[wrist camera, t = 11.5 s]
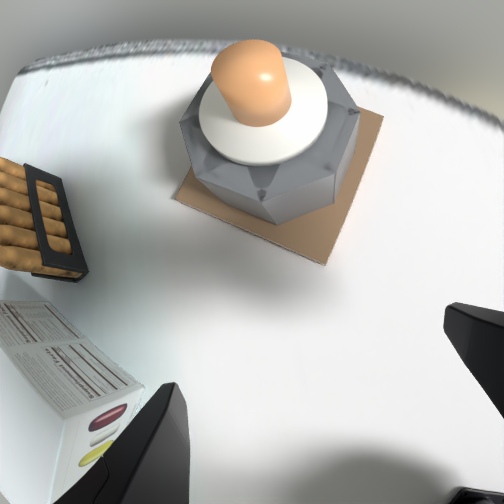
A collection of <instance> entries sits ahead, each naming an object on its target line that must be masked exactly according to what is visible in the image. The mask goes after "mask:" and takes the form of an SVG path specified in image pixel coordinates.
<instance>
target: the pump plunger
mask: <svg viewBox="0 0 504 504" xmlns="http://www.w3.org/2000/svg"><path fill="white" fill-rule="evenodd" d="M211 76H212V78H213V82H212V83H211V84H210V85H209V87H208V88H207V90H206V91H205V93H204V95H203V98H202V100H201V104H200V108H199V122H200V126H201V129H202V131H203V133H204V135H205V137H206V138H207V140H208V141H209V142H210V143H211V145H212V146H213V147H214V148H215V149H216V150H217V152H219V153H220V154H221V155H222V156H224V157H225V158H227V159H229V160H231V161H233V162H236V163H239V164H243V165H248V166H271V165H276V164H280V163H283V162H286V161H289V160H291V159H293V158H295V157H297V156H299V155H300V154H302V153H303V152H305V151H306V150H307V149H309V148H310V147H311V146H312V145H313V144H314V143H315V142H316V140H317V139H318V138H319V136H320V135H321V133H322V131H323V129H324V127H325V124H326V121H327V115H328V104H327V94H326V90H325V87H324V85H323V83H322V81H321V80H320V78H319V77H318V76H317V74H316V73H315V72H314V71H312V70H311V69H310V68H309V67H307V66H306V65H304V64H302V63H300V62H298V61H296V60H293V59H289V58H286V57H282V55H281V53H280V51H279V49H278V48H277V47H276V46H274V45H273V44H271V43H269V42H266V41H262V40H245V41H241V42H238V43H235V44H233V45H230V46H229V47H227V48H225V49H224V50H223V51H222V52H220V53H219V54H218V55H217V57H216V58H215V60H214V61H213V63H212V66H211Z"/></svg>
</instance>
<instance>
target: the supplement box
mask: <svg viewBox="0 0 504 504" xmlns="http://www.w3.org/2000/svg"><path fill="white" fill-rule="evenodd" d="M144 390H145V386H144V385H142V384H141V383H140V382H138V381H137V380H136V379H135V378H133V377H132V376H131V375H130V374H128V373H127V372H126V371H124V370H123V369H122V368H121V367H119V366H118V365H117V364H116V363H115V362H113V361H112V360H111V359H110V358H108V357H107V356H106V355H105V354H104V353H102V352H101V351H100V350H99V349H98V348H97V347H95V346H94V345H93V344H92V343H91V342H90V341H89V340H87V339H86V338H85V337H84V336H83V335H82V334H81V333H80V332H79V331H78V330H76V329H75V328H74V327H73V326H72V325H71V324H70V323H69V322H68V321H67V320H66V319H65V318H64V317H63V316H62V315H61V314H60V313H59V312H58V311H57V310H56V309H55V308H54V307H53V306H52V305H51V304H50V303H49V302H20V301H0V491H1V493H2V494H3V495H4V496H5V497H6V499H7V500H8V501H9V502H10V503H11V504H53V503H54V502H55V501H56V500H57V499H59V498H60V497H61V496H62V495H63V494H64V493H65V492H66V491H67V490H69V489H70V488H71V487H72V486H73V485H74V484H75V483H76V482H77V481H78V480H79V479H80V478H81V477H82V476H83V475H84V474H85V473H86V472H87V471H88V470H89V469H90V468H91V467H92V466H93V465H94V464H95V462H96V461H97V460H98V459H99V458H100V457H101V456H103V453H104V452H105V451H106V450H107V449H108V448H109V446H110V445H111V444H112V443H113V442H114V441H115V439H116V438H117V437H118V436H119V435H120V434H121V432H122V431H123V430H124V429H125V428H126V427H127V425H128V424H129V423H130V422H131V421H132V418H133V416H134V414H135V412H136V409H137V407H138V404H139V402H140V400H141V397H142V395H143V393H144Z"/></svg>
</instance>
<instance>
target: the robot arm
mask: <svg viewBox="0 0 504 504" xmlns="http://www.w3.org/2000/svg"><path fill="white" fill-rule="evenodd" d="M443 328H444V332H445V334H446V335H447V337H448V338H449V340H450V341H451V343H452V345H453V346H454V348H455V349H456V351H457V353H458V354H459V356H460V358H461V359H462V361H463V362H464V364H465V365H466V367H467V368H468V369H469V371H470V372H471V373H472V375H473V376H474V377H475V379H476V380H477V381H478V383H479V384H480V385H481V387H482V388H483V390H484V391H485V392H486V394H487V395H488V397H489V398H490V399H491V401H492V402H493V404H494V405H495V407H496V408H497V409H498V411H499V412H500V414H501V415H502V417H503V418H504V312H502V311H497V310H492V309H487V308H482V307H477V306H473V305H468V304H463V303H458V302H455V303H452V304H450V305H448V306H447V307H446V309H445V316H444V325H443ZM189 475H190V439H189V428H188V416H187V405H186V402H185V399H184V397H183V395H182V393H181V391H180V389H179V387H178V385H177V384H176V383H175V382H172V383H165V384H163V385H161V387H160V388H159V389H158V390H157V391H156V393H155V394H154V395H153V396H152V397H151V398H150V400H149V401H148V402H147V403H146V404H145V406H144V407H143V408H142V409H141V410H140V411H139V413H138V414H137V415H136V416H135V417H134V418H133V420H132V421H131V422H130V423H129V424H128V425H127V427H126V428H125V429H124V430H123V431H122V432H121V434H120V435H119V436H118V437H117V438H116V439H115V441H114V442H113V443H112V444H111V445H110V446H109V448H108V449H107V450H106V451H105V452H104V453H103V456H101V457H100V458H99V459H98V460H97V461H96V462H95V464H94V465H93V466H92V467H91V468H90V469H89V470H88V471H87V472H86V473H85V474H84V475H83V476H82V477H81V478H80V479H79V480H78V481H77V482H76V483H75V484H74V485H73V486H72V487H71V488H70V489H69V490H67V491H66V492H65V493H64V494H63V495H62V496H61V497H60V498H59V499H57V500H56V501H55V502H54V503H53V504H189ZM464 493H465V494H464ZM463 494H464V495H463ZM450 504H504V494H501V493H493V492H486V491H480V490H474V489H468V488H464V489H462V490H461V491H460V492H459V493H458V494H457V495H456V496H455V498H454V499H453V500H452V501H451V502H450Z"/></svg>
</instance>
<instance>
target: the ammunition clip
mask: <svg viewBox="0 0 504 504" xmlns="http://www.w3.org/2000/svg"><path fill="white" fill-rule="evenodd" d="M0 266H2V267H4V268H6V269H10V270H16V271H24V272H31V275H32V276H35V277H41V278H48V279H54V280H60V281H67V282H74V283H77V282H78V281H79V280H80V279H82V278H83V277H84V276H85V275H86V274H88V272H89V270H88V268H87V265H86V262H85V259H84V256H83V253H82V250H81V247H80V244H79V241H78V238H77V234H76V231H75V228H74V224H73V221H72V218H71V214H70V210H69V207H68V203H67V199H66V196H65V192H64V188H63V183H62V179H61V178H59V177H57V176H54V175H52V174H49V173H47V172H45V171H42V170H40V169H38V168H35V167H33V166H30V165H28V164H26V163H25V164H24V165H23V166H21V165H19V164H17V163H15V162H12V161H10V160H8V159H5V158H2V157H0Z"/></svg>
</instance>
